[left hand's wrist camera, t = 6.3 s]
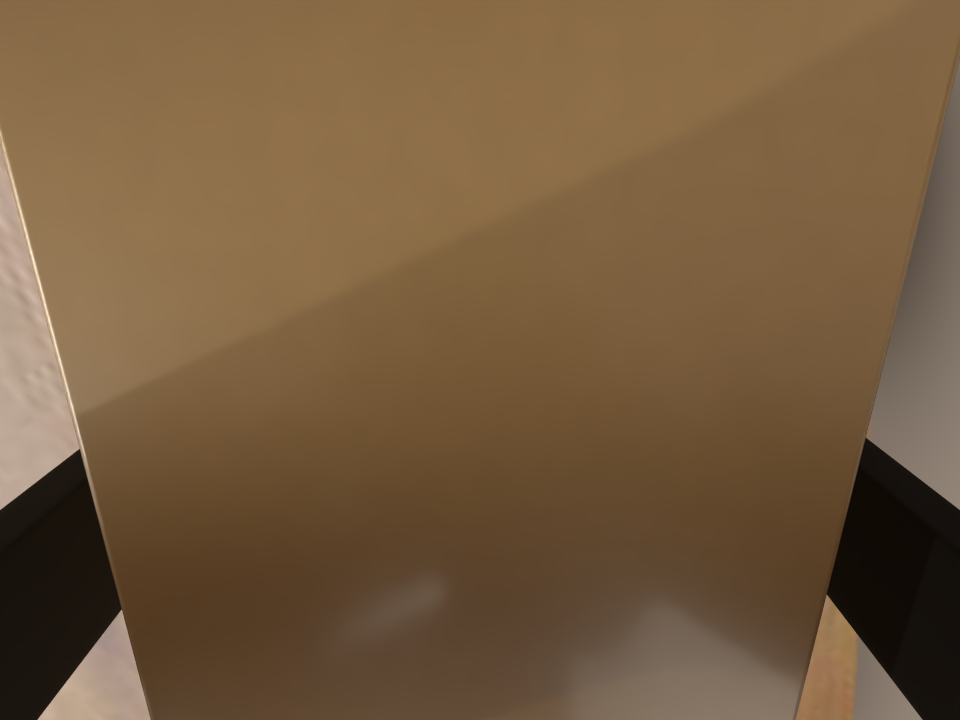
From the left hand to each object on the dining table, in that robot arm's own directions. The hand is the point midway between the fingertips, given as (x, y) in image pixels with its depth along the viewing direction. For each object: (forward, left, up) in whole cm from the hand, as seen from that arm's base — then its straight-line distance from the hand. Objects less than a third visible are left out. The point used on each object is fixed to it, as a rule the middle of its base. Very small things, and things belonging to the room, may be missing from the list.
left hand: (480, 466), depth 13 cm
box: (+8, 0, -5) cm, 10 cm away
